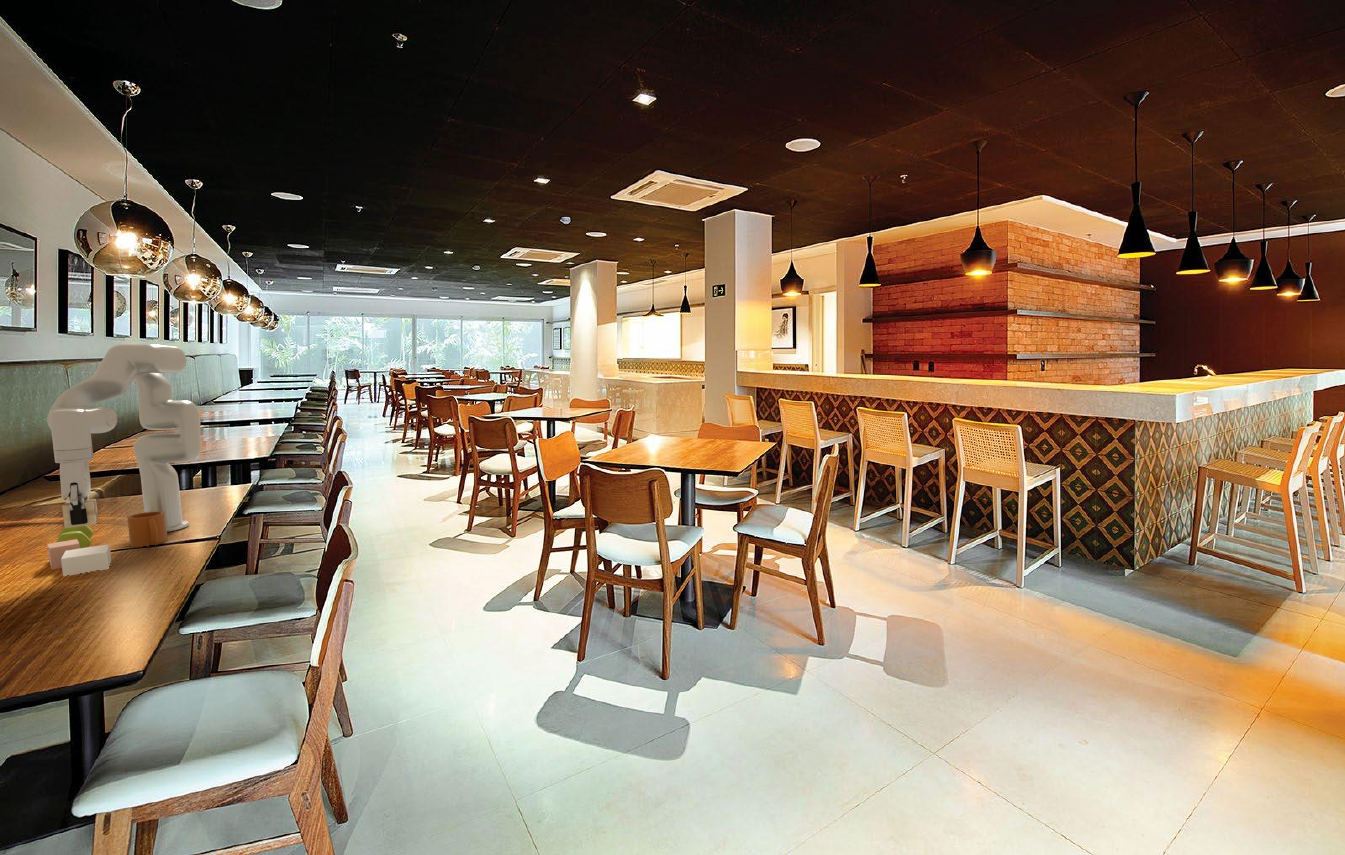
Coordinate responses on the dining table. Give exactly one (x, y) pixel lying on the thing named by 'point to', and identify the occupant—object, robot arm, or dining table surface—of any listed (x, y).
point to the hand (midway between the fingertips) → (81, 520)
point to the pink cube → (60, 551)
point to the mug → (147, 529)
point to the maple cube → (91, 513)
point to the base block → (86, 560)
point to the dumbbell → (76, 535)
